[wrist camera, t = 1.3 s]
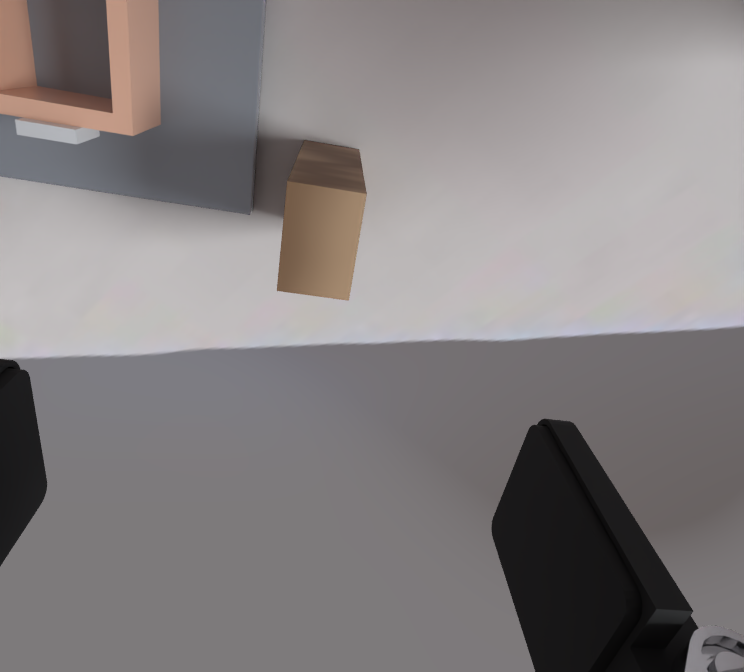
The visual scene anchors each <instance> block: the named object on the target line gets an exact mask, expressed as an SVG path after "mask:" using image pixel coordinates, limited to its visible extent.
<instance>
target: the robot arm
mask: <svg viewBox="0 0 744 672" xmlns="http://www.w3.org/2000/svg"><path fill="white" fill-rule="evenodd" d="M46 490H47V479H46V473H45V467H44V460H43V455H42V449H41V443H40V436H39V430H38V424H37V418H36V412H35V406H34V401H33V394H32V388H31V382H30V377H29V374H28V372H27V371H25V370H20V367H19V365H18V364H17V362H15V361H13V360H5V359H0V566H1V564H2V563H3V561H4V560H5V558H6V557H7V555H8V554H9V552H10V550H11V549H12V547H13V546H14V545H15V543H16V541H17V540H18V538H19V537H20V535H21V534H22V532H23V531H24V529H25V528H26V526H27V525H28V523H29V522H30V520H31V519H32V517H33V516H34V514H35V512H36V511H37V509H38V508H39V506H40V505H41V503H42V501H43V499H44V497H45V494H46ZM492 536H493V540H494V542H495V546H496V549H497V552H498V555H499V559H500V562H501V565H502V568H503V571H504V574H505V577H506V581H507V584H508V586H509V590H510V593H511V596H512V599H513V603H514V605H515V609H516V612H517V615H518V618H519V621H520V624H521V628H522V631H523V634H524V637H525V640H526V643H527V647H528V650H529V653H530V656H531V659H532V662H533V665H534V669H535V672H744V636H743V635H741V634H739V633H737V632H735V631H733V630H731V629H727V628H723V627H720V626H716V625H715V626H703V627H701V628H698V627H697V625H696V623H695V622H694V620H693V619H692V617H691V614H692V612H693V610H692V608H691V607H690V605H689V604H688V602H687V601H686V599H685V597H684V596H683V594H682V593H681V591H680V590H679V588H678V586H677V585H676V583H675V581H674V580H673V578H672V577H671V575H670V574H669V572H668V571H667V569H666V567H665V566H664V564H663V563H662V561H661V559H660V558H659V556H658V555H657V553H656V552H655V550H654V549H653V547H652V545H651V544H650V542H649V541H648V539H647V537H646V536H645V534H644V533H643V531H642V529H641V528H640V526H639V525H638V523H637V522H636V520H635V518H634V517H633V516H632V514H631V512H630V511H629V509H628V507H627V506H626V504H625V503H624V501H623V500H622V498H621V496H620V495H619V493H618V492H617V490H616V489H615V487H614V485H613V484H612V482H611V481H610V479H609V478H608V476H607V474H606V473H605V471H604V470H603V468H602V466H601V465H600V463H599V462H598V460H597V459H596V457H595V455H594V454H593V452H592V451H591V449H590V448H589V446H588V445H587V443H586V441H585V440H584V438H583V436H582V435H581V433H580V432H579V430H578V429H577V427H576V426H575V425H574V423H572V422H570V421H561V420H551V419H542V420H541V421H540V422H539V423H538V424H537V425H532V426H531V427H530V428H529V430H528V433H527V435H526V437H525V440H524V443H523V445H522V447H521V450H520V452H519V455H518V457H517V460H516V462H515V465H514V467H513V470H512V472H511V475H510V477H509V480H508V483H507V485H506V487H505V490H504V492H503V495H502V497H501V500H500V502H499V505H498V507H497V510H496V512H495V515H494V517H493V520H492Z"/></svg>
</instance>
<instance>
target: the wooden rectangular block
mask: <svg viewBox="0 0 744 672" xmlns="http://www.w3.org/2000/svg"><path fill="white" fill-rule="evenodd" d="M366 195H367V193H366V187H365V182H364V176H363V170H362V164H361V158H360V152H359V149H353V148H348V147H342V146H336V145H330V144H325V143H319V142H313V141H307V140H304V142H303V144H302V147H301V149H300V152H299V154H298V156H297V159H296V161H295V163H294V166H293V168H292V171H291V173H290V175H289V178H288V180H287V188H286V199H285V209H284V220H283V230H282V241H281V252H280V262H279V273H278V284H277V291H283V292H290V293H297V294H305V295H312V296H319V297H327V298H334V299H341V300H349V296H350V290H351V284H352V278H353V272H354V266H355V260H356V254H357V248H358V242H359V236H360V230H361V224H362V218H363V212H364V207H365V201H366Z"/></svg>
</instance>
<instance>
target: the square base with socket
mask: <svg viewBox="0 0 744 672" xmlns="http://www.w3.org/2000/svg"><path fill="white" fill-rule="evenodd" d="M265 8H266V0H0V176H2V177H8V178H15V179H21V180H28V181H34V182H41V183H47V184H54V185H60V186H67V187H73V188H80V189H86V190H93V191H99V192H105V193H112V194H118V195H125V196H131V197H138V198H144V199H151V200H157V201H164V202H170V203H177V204H183V205H190V206H196V207H203V208H209V209H216V210H222V211H229V212H235V213H242V214H248V215H250V213H251V212H252V210H253V195H254V179H255V164H256V148H257V132H258V117H259V101H260V86H261V70H262V55H263V39H264V23H265Z"/></svg>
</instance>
